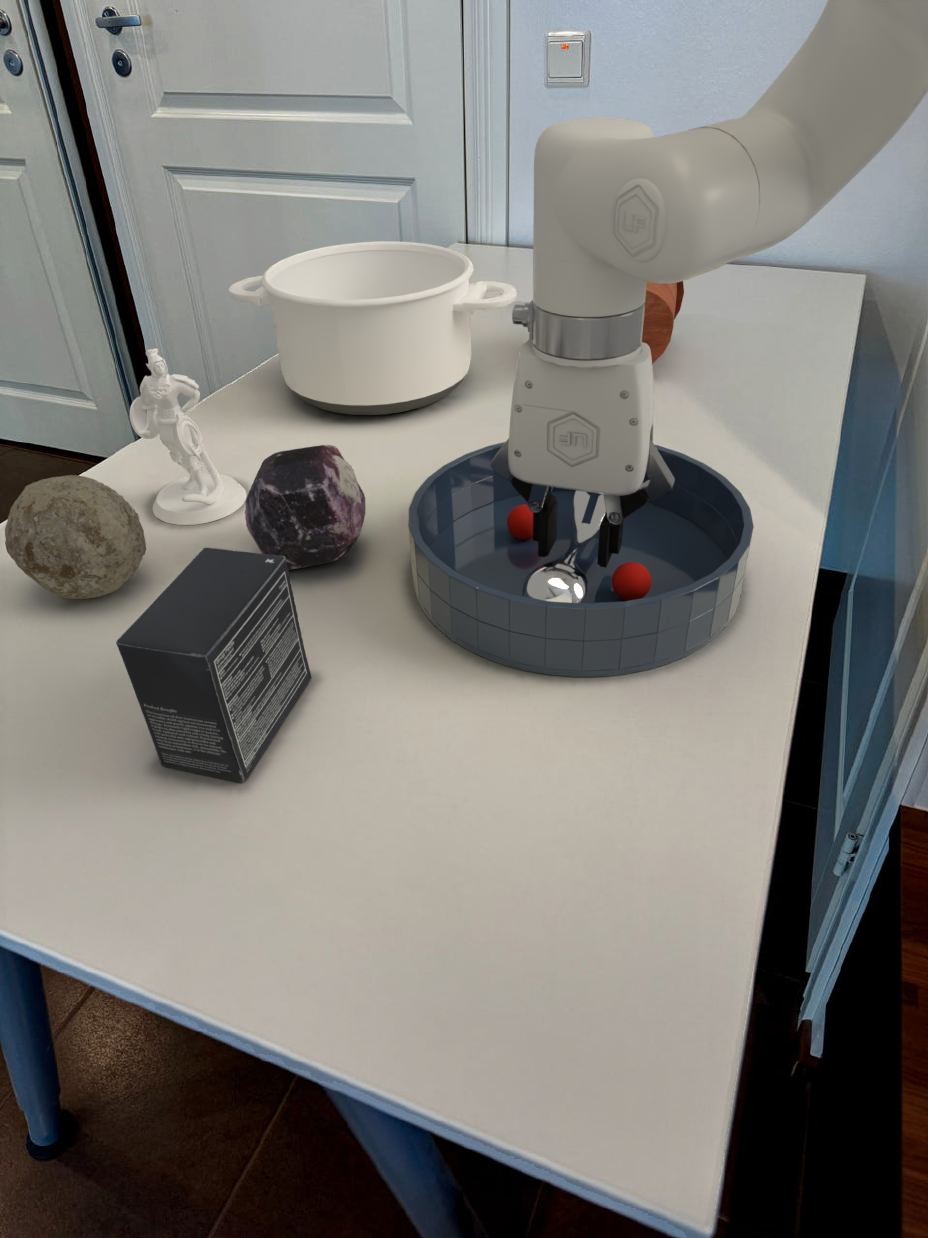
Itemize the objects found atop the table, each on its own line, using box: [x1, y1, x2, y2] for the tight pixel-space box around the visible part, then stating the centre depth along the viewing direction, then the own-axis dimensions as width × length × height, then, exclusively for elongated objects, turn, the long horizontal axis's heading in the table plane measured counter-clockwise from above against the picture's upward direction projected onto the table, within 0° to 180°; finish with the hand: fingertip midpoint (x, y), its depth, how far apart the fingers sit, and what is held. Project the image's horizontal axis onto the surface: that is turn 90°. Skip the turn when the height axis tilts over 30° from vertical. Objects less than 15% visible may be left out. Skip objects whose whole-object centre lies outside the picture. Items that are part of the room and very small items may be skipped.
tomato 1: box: [507, 504, 533, 540], centre depth 75 cm, size 3×3×3 cm
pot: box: [228, 240, 518, 416], centre depth 100 cm, size 33×23×14 cm
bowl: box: [407, 441, 754, 678], centre depth 70 cm, size 26×26×6 cm
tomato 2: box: [612, 562, 651, 601], centre depth 67 cm, size 3×3×3 cm
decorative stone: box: [4, 474, 147, 600], centre depth 70 cm, size 10×8×10 cm
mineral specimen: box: [244, 444, 366, 571], centre depth 73 cm, size 10×10×10 cm
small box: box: [115, 547, 312, 783], centre depth 56 cm, size 11×6×10 cm, turn 164°
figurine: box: [129, 347, 248, 526], centre depth 79 cm, size 9×9×15 cm
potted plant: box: [642, 281, 685, 365], centre depth 112 cm, size 16×15×35 cm
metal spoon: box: [522, 490, 606, 603], centre depth 70 cm, size 20×4×5 cm
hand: (576, 551), depth 71 cm, fingers closed on metal spoon, 4 cm apart
